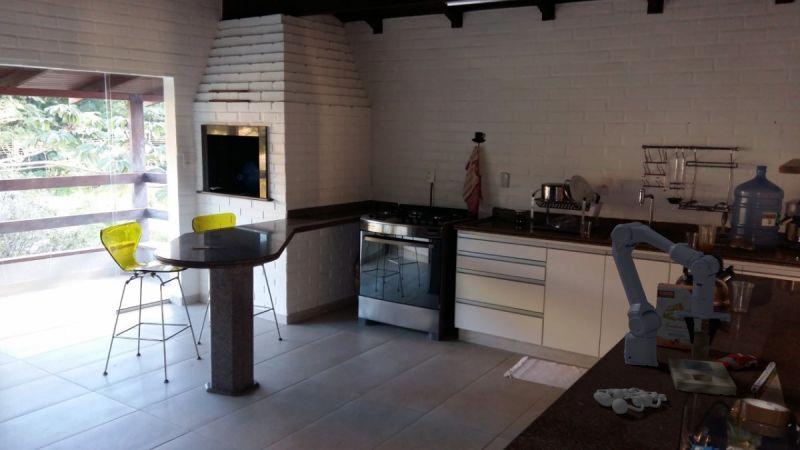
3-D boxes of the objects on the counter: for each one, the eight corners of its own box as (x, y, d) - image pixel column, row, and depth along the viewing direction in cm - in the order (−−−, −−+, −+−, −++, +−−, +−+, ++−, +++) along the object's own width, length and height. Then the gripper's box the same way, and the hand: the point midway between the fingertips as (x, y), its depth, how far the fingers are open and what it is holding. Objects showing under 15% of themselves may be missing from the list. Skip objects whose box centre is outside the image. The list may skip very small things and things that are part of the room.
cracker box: (653, 346, 215) (656, 285, 212) (655, 341, 220) (658, 281, 217) (699, 352, 208) (702, 289, 205) (700, 346, 213) (703, 285, 211)
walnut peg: (693, 358, 184) (694, 334, 183) (691, 353, 187) (692, 330, 187) (708, 359, 182) (709, 336, 182) (706, 355, 186) (707, 332, 185)
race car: (723, 372, 191) (723, 359, 190) (711, 366, 196) (711, 353, 195) (761, 369, 193) (762, 356, 192) (749, 363, 198) (750, 350, 198)
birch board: (676, 390, 177) (676, 381, 176) (668, 366, 196) (668, 357, 195) (736, 396, 172) (736, 386, 172) (721, 370, 191) (722, 362, 191)
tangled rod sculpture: (640, 392, 179) (640, 378, 179) (680, 407, 166) (681, 392, 165) (584, 401, 172) (584, 386, 171) (622, 418, 158) (622, 402, 158)
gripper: (677, 299, 181) (674, 345, 183) (733, 302, 177) (730, 349, 179) (674, 293, 188) (672, 338, 190) (728, 296, 184) (725, 342, 185)
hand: (700, 343), depth 185 cm, fingers closed on walnut peg, 4 cm apart
